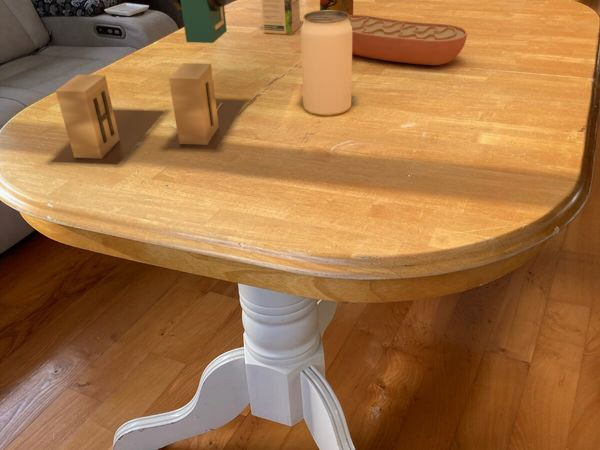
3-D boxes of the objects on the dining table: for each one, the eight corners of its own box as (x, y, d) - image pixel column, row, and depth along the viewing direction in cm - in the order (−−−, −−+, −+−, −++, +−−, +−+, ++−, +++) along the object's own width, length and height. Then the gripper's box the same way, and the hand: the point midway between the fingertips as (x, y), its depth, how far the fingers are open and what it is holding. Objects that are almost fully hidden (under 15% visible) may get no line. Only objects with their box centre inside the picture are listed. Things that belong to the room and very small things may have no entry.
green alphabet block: (186, 42, 69) (175, -30, 65) (201, 30, 73) (192, -39, 69) (214, 43, 69) (205, -30, 64) (228, 31, 73) (220, -39, 68)
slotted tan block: (167, 155, 68) (153, 80, 63) (204, 105, 81) (195, 40, 76) (216, 157, 67) (207, 81, 62) (246, 107, 80) (240, 40, 75)
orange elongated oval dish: (470, 59, 93) (474, 27, 90) (449, 79, 86) (453, 44, 83) (343, 41, 103) (343, 12, 100) (314, 58, 96) (314, 27, 93)
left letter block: (53, 169, 66) (30, 93, 61) (109, 116, 79) (93, 49, 74) (119, 172, 65) (101, 95, 60) (165, 118, 77) (153, 50, 72)
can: (344, 119, 75) (344, 24, 68) (296, 114, 77) (292, 21, 70) (356, 101, 80) (358, 10, 73) (311, 96, 82) (309, 8, 75)
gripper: (161, -147, 68) (124, -15, 66) (274, -152, 64) (240, -11, 62) (189, -100, 76) (157, 21, 73) (292, -102, 71) (262, 27, 69)
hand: (195, 6), depth 67 cm, fingers closed on green alphabet block, 4 cm apart
